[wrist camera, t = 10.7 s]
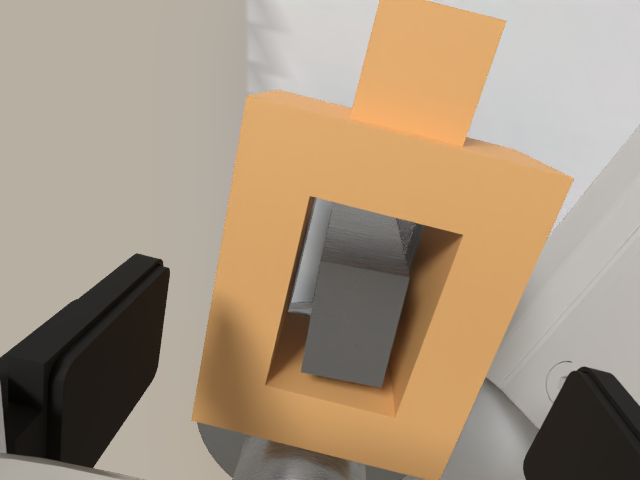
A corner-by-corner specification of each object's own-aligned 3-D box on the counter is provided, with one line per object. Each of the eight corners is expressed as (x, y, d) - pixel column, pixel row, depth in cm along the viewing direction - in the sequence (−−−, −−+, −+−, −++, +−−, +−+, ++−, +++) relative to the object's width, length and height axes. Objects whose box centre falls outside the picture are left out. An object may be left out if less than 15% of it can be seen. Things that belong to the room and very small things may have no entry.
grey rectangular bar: (339, 175, 22) (320, 260, 12) (387, 184, 22) (410, 277, 12) (327, 242, 24) (300, 372, 13) (372, 251, 24) (381, 387, 13)
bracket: (420, 389, 18) (438, 482, 14) (230, 341, 18) (191, 420, 14) (551, 53, 14) (633, 44, 10) (298, -11, 14) (270, -48, 10)
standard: (382, 428, 27) (402, 754, 14) (221, 388, 27) (93, 677, 14) (486, 143, 21) (690, 254, 8) (279, 91, 21) (147, 118, 8)
